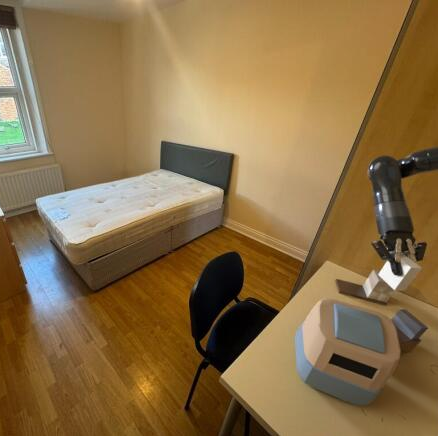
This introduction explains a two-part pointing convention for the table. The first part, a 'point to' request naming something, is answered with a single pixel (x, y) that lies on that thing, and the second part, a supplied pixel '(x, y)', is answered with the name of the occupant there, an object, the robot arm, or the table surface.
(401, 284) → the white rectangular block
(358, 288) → the brown base with block
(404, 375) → the table surface
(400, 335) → the grey shelf
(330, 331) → the alarm clock
